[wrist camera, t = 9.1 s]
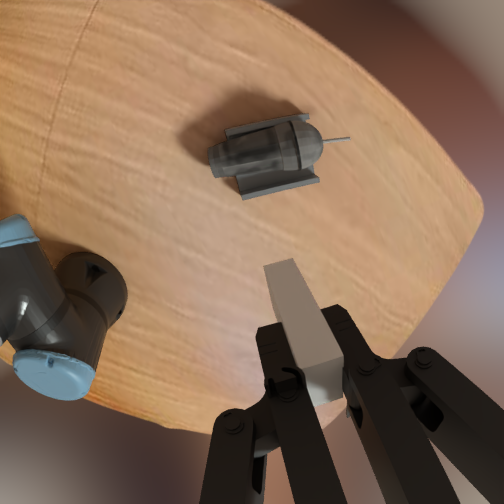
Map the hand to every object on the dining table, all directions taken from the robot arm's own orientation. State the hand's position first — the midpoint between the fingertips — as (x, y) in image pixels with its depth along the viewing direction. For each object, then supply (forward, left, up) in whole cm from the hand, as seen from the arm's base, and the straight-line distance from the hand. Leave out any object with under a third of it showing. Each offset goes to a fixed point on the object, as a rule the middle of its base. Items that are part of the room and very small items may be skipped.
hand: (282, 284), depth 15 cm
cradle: (+6, 0, -32) cm, 32 cm away
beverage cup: (-3, +1, -30) cm, 30 cm away
